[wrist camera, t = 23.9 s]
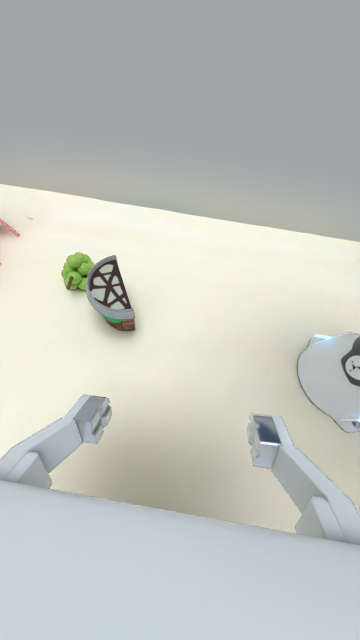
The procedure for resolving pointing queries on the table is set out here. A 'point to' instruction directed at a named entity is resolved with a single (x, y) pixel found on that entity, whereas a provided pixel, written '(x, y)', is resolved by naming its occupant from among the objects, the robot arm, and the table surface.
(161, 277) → the table surface
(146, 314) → the table surface
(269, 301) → the table surface
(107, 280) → the food container
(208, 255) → the table surface
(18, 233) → the figurine
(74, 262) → the grapes
